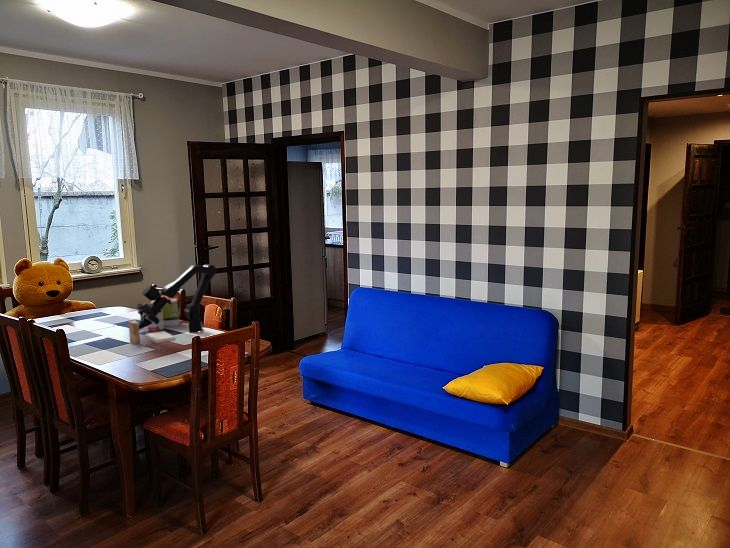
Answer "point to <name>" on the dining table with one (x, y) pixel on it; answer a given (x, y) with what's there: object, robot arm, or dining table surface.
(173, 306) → the tea box
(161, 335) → the plate
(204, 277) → the robot arm
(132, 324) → the stub
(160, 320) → the ink box
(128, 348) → the dining table surface
